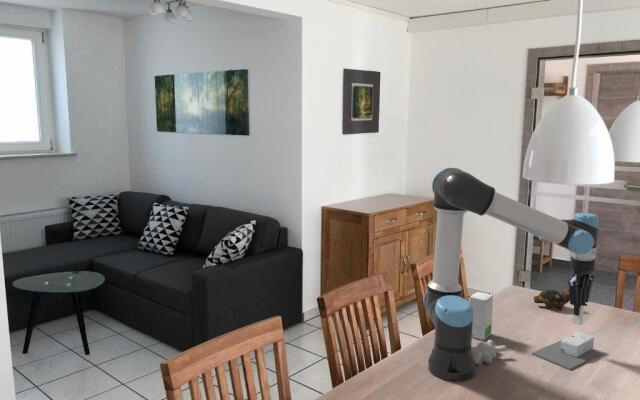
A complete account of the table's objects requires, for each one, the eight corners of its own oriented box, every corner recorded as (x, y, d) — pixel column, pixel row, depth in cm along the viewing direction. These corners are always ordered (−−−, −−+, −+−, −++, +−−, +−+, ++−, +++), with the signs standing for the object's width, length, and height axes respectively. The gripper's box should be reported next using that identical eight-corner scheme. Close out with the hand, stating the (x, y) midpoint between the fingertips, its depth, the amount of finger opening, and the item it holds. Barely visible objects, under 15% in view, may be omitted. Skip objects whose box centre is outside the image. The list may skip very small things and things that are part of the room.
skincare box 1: (483, 340, 197) (486, 300, 194) (466, 336, 201) (468, 296, 198) (491, 333, 203) (494, 294, 201) (475, 329, 207) (477, 290, 205)
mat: (569, 370, 175) (570, 368, 175) (531, 354, 186) (531, 352, 186) (601, 354, 186) (602, 353, 186) (564, 340, 197) (564, 339, 197)
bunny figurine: (459, 348, 181) (487, 333, 190) (459, 362, 183) (487, 346, 191) (482, 359, 174) (510, 342, 182) (482, 373, 175) (510, 356, 183)
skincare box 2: (594, 336, 189) (578, 345, 182) (593, 348, 190) (577, 357, 182) (577, 331, 194) (560, 339, 186) (576, 343, 194) (559, 351, 187)
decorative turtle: (573, 313, 224) (574, 295, 222) (535, 312, 228) (535, 294, 226) (568, 304, 233) (569, 286, 232) (532, 303, 237) (532, 286, 235)
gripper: (583, 263, 176) (577, 331, 180) (604, 257, 184) (597, 322, 188) (562, 258, 183) (556, 323, 186) (582, 252, 190) (577, 315, 194)
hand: (577, 323), depth 187 cm, fingers closed
